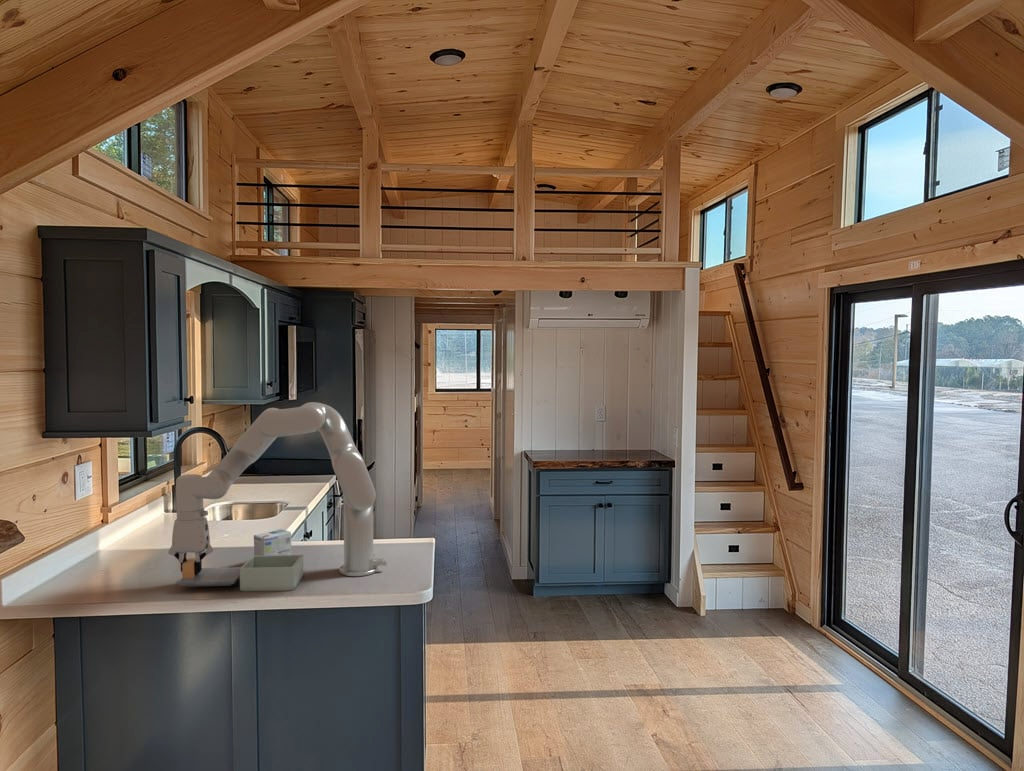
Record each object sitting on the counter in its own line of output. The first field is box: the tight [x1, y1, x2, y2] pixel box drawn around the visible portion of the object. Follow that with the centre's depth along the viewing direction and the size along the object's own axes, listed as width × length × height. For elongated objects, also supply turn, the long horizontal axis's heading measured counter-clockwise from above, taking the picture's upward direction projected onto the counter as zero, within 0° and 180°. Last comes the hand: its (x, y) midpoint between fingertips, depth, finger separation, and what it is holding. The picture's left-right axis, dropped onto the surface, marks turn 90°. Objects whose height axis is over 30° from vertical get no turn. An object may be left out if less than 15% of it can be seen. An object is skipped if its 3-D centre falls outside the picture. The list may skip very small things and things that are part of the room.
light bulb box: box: [253, 528, 292, 556], centre depth 236 cm, size 11×7×11 cm, turn 141°
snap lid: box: [176, 557, 242, 588], centre depth 215 cm, size 16×14×6 cm
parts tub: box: [239, 554, 304, 592], centre depth 217 cm, size 16×13×8 cm
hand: (191, 573), depth 215 cm, fingers closed on snap lid, 3 cm apart
